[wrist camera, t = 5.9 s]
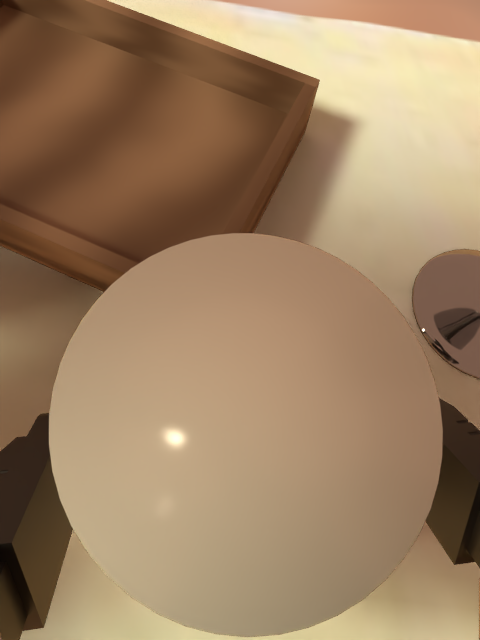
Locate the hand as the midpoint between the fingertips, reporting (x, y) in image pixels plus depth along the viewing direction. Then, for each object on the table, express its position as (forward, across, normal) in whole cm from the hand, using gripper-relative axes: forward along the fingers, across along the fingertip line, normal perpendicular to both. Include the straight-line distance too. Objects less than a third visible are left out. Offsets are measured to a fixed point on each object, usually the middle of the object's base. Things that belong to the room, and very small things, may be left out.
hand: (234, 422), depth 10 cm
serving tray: (+15, +6, -7) cm, 18 cm away
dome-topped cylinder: (+4, 0, +4) cm, 6 cm away
